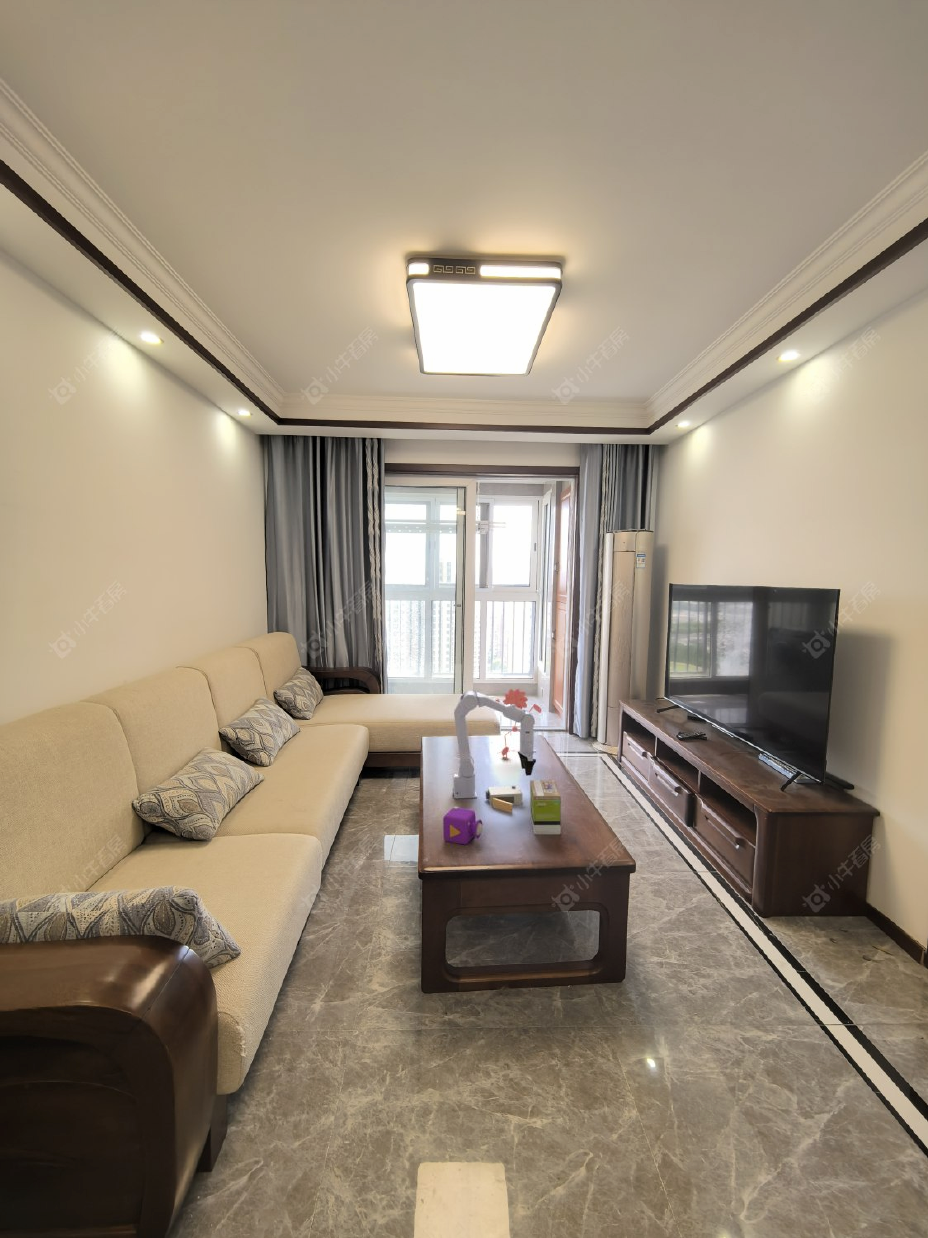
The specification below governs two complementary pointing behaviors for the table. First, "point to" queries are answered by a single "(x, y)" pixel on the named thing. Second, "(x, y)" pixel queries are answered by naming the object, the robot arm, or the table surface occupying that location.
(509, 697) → the figurine
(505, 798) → the white knobbed box
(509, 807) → the side door
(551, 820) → the tea box
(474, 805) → the table surface
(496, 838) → the table surface
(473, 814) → the toy camera
